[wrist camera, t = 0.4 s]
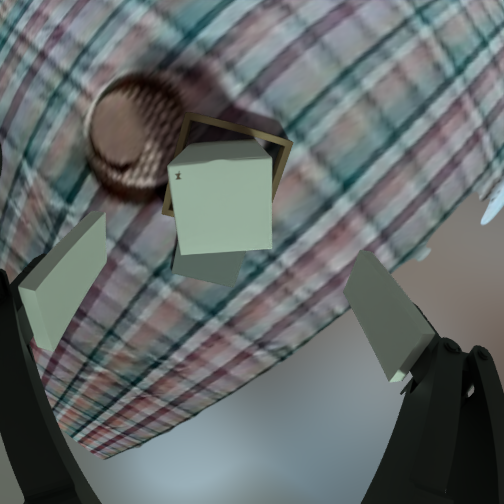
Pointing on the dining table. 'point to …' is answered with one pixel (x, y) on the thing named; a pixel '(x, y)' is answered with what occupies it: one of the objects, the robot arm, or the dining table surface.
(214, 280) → the coaster
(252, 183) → the supplement box
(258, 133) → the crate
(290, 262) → the dining table surface
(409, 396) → the robot arm
